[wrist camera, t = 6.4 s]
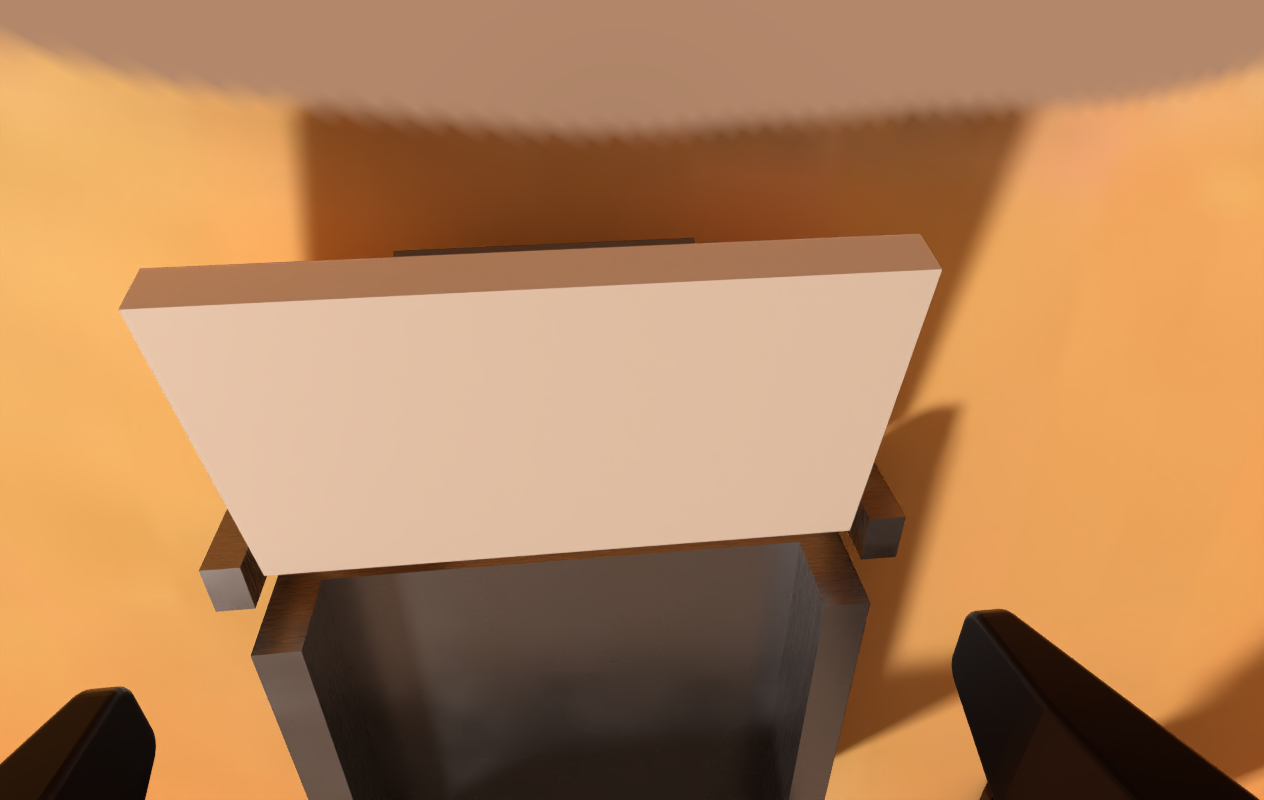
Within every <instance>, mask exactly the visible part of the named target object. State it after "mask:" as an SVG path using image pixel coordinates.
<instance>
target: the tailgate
mask: <svg viewBox="0 0 1264 800" xmlns="http://www.w3.org/2000/svg"><path fill="white" fill-rule="evenodd" d="M941 272H942V268H941V266H940V265H939V263H938V261H937V260H936V258H935V257H934V255H933V253H932V252H931V250H930V249H929V247H928V245H927V244H926V242H925V241H924V239H923V237H922V236H921V234H920V233H917V234H895V235H873V236H851V237H829V238H806V239H784V240H762V241H740V242H718V243H696V244H695V241H694V238H679V239H656V240H634V241H611V242H589V243H566V244H544V245H521V246H499V247H476V248H454V249H432V250H409V251H394V254H393V257H385V258H363V259H341V260H319V261H297V262H274V263H252V264H230V265H208V266H186V267H164V268H142V269H140V270H139V272H138V274H137V275H136V277H135V279H134V281H133V283H132V285H131V287H130V289H129V290H128V292H127V294H126V296H125V298H124V300H123V302H122V304H121V305H120V307H119V309H118V310H119V312H120V314H121V316H122V318H123V319H124V321H125V323H126V325H127V327H128V328H129V330H130V332H131V334H132V336H133V338H134V339H135V341H136V343H137V345H138V347H139V348H140V350H141V352H142V354H143V356H144V358H145V359H146V361H147V363H148V365H149V367H150V369H151V370H152V372H153V374H154V376H155V378H156V379H157V381H158V383H159V385H160V387H161V389H162V390H163V392H164V394H165V396H166V398H167V400H168V401H169V403H170V405H171V407H172V409H173V410H174V412H175V414H176V416H177V418H178V420H179V421H180V423H181V425H182V427H183V429H184V430H185V432H186V434H187V436H188V438H189V440H190V441H191V443H192V445H193V447H194V449H195V451H196V452H197V454H198V456H199V458H200V460H201V461H202V463H203V465H204V467H205V469H206V471H207V472H208V474H209V476H210V478H211V480H212V481H213V483H214V485H215V487H216V489H217V491H218V492H219V494H220V496H221V498H222V500H223V502H224V503H225V505H226V507H227V509H228V511H229V512H230V514H231V516H232V518H233V520H234V522H235V523H236V525H237V527H238V529H239V531H240V533H241V534H242V536H243V538H244V540H245V542H246V543H247V545H248V547H249V549H250V551H251V553H252V554H253V556H254V558H255V560H256V562H257V563H258V565H259V567H260V569H261V571H262V573H263V574H264V576H269V575H282V574H295V573H308V572H321V571H334V570H347V569H360V568H373V567H386V566H398V565H411V564H424V563H437V562H450V561H463V560H476V559H489V558H502V557H515V556H527V555H540V554H553V553H566V552H579V551H592V550H605V549H618V548H631V547H644V546H657V545H669V544H682V543H695V542H708V541H721V540H734V539H747V538H760V537H773V536H786V535H798V534H811V533H824V532H837V531H850V528H851V526H852V523H853V520H854V517H855V514H856V511H857V509H858V506H859V503H860V500H861V497H862V495H863V492H864V489H865V486H866V483H867V480H868V478H869V475H870V472H871V469H872V466H873V463H874V461H875V458H876V455H877V452H878V449H879V447H880V444H881V441H882V438H883V435H884V432H885V430H886V427H887V424H888V421H889V418H890V415H891V413H892V410H893V407H894V404H895V401H896V399H897V396H898V393H899V390H900V387H901V384H902V382H903V379H904V376H905V373H906V370H907V368H908V365H909V362H910V359H911V356H912V353H913V351H914V348H915V345H916V342H917V339H918V336H919V334H920V331H921V328H922V325H923V322H924V320H925V317H926V314H927V311H928V308H929V305H930V303H931V300H932V297H933V294H934V291H935V288H936V286H937V283H938V280H939V277H940V274H941Z"/></svg>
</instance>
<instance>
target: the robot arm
mask: <svg viewBox="0 0 1264 800" xmlns="http://www.w3.org/2000/svg"><path fill="white" fill-rule="evenodd" d="M952 673H953V678H954V681H955V685H956V688H957V691H958V694H959V697H960V700H961V703H962V706H963V709H964V712H965V715H966V718H967V721H968V724H969V727H970V730H971V733H972V736H973V739H974V742H975V745H976V748H977V751H978V754H979V757H980V760H981V763H982V766H983V769H984V772H985V775H986V778H987V781H988V784H989V785H988V786H987V787H986V788H985V789H984V791H983V794H982V796H981V798H980V800H1259V799H1258V798H1257V797H1256V796H1254V795H1253V794H1252V793H1250V792H1249V791H1248V790H1246V789H1245V788H1244V787H1242V786H1241V785H1240V784H1238V783H1237V782H1236V781H1234V780H1233V779H1232V778H1230V777H1229V776H1228V775H1226V774H1225V773H1224V772H1222V771H1221V770H1220V769H1218V768H1217V767H1216V766H1214V765H1213V764H1212V763H1210V762H1209V761H1208V760H1206V759H1205V758H1204V757H1202V756H1201V755H1200V754H1199V753H1197V752H1196V751H1195V750H1193V749H1192V748H1191V747H1189V746H1188V745H1187V744H1185V743H1184V742H1183V741H1181V740H1180V739H1179V738H1177V737H1176V736H1175V735H1173V734H1172V733H1171V732H1169V731H1168V730H1167V729H1165V728H1164V727H1163V726H1161V725H1160V724H1159V723H1157V722H1156V721H1155V720H1153V719H1152V718H1151V717H1149V716H1148V715H1147V714H1145V713H1144V712H1143V711H1142V710H1140V709H1139V708H1138V707H1136V706H1135V705H1134V704H1132V703H1131V702H1130V701H1128V700H1127V699H1126V698H1124V697H1123V696H1122V695H1120V694H1119V693H1118V692H1116V691H1115V690H1114V689H1112V688H1111V687H1110V686H1108V685H1107V684H1106V683H1104V682H1103V681H1102V680H1100V679H1099V678H1098V677H1096V676H1095V675H1094V674H1092V673H1091V672H1090V671H1088V670H1087V669H1086V668H1085V667H1083V666H1082V665H1081V664H1079V663H1078V662H1077V661H1075V660H1074V659H1073V658H1071V657H1070V656H1069V655H1067V654H1066V653H1065V652H1063V651H1062V650H1061V649H1059V648H1058V647H1057V646H1055V645H1054V644H1053V643H1051V642H1050V641H1049V640H1047V639H1046V638H1045V637H1043V636H1042V635H1041V634H1039V633H1038V632H1037V631H1035V630H1034V629H1033V628H1031V627H1030V626H1029V625H1028V624H1026V623H1025V622H1024V621H1022V620H1021V619H1020V618H1018V617H1017V616H1016V615H1014V614H1013V613H1011V612H1009V611H1007V610H1004V609H992V610H981V611H973V612H971V613H970V614H969V615H967V616H966V618H965V621H964V624H963V627H962V630H961V633H960V636H959V639H958V642H957V645H956V648H955V651H954V654H953V658H952ZM155 750H156V741H155V736H154V732H153V730H152V728H151V726H150V724H149V722H148V721H147V719H146V717H145V715H144V713H143V712H142V710H141V708H140V706H139V704H138V702H137V701H136V699H135V697H134V695H133V694H132V692H131V691H130V690H128V689H127V688H125V687H109V688H97V689H89V690H85V691H83V692H81V693H79V694H78V695H76V696H75V697H73V698H72V699H71V700H70V701H69V702H68V703H67V704H65V705H64V706H63V707H62V708H61V709H60V710H59V711H58V712H57V713H56V714H55V715H53V716H52V717H51V718H50V719H49V720H48V721H47V722H46V723H45V724H44V725H42V726H41V727H40V728H39V729H38V730H37V731H36V732H35V733H34V734H33V735H32V736H30V737H29V738H28V739H27V740H26V741H25V742H24V743H23V744H22V745H21V746H19V747H18V748H17V749H16V750H15V751H14V752H13V753H12V754H11V755H10V756H9V757H7V758H6V759H5V760H4V761H3V762H2V763H1V764H0V800H145V797H146V793H147V789H148V784H149V780H150V775H151V771H152V767H153V762H154V757H155Z"/></svg>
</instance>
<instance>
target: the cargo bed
mask: <svg viewBox="0 0 1264 800" xmlns="http://www.w3.org/2000/svg"><path fill="white" fill-rule="evenodd" d="M904 521H905V515H904V513H903V512H902V510H901V508H900V506H899V505H898V503H897V501H896V499H895V498H894V496H893V494H892V492H891V491H890V489H889V487H888V485H887V484H886V482H885V480H884V478H883V476H882V475H881V473H880V471H879V469H878V468H877V466H876V464H875V462H874V463H873V466H872V469H871V472H870V475H869V478H868V480H867V483H866V486H865V489H864V492H863V495H862V497H861V500H860V503H859V506H858V509H857V511H856V514H855V517H854V520H853V523H852V526H851V528H850V531H848V532H849V534H850V536H851V539H852V541H853V543H854V545H855V547H856V549H857V551H858V553H859V555H860V558H861V559H873V558H885V557H896V553H897V549H898V545H899V541H900V537H901V533H902V529H903V525H904ZM199 572H200V575H201V577H202V579H203V582H204V584H205V587H206V589H207V591H208V594H209V596H210V598H211V601H212V603H213V606H214V608H215V610H216V612H217V611H229V610H241V609H254V608H256V605H257V602H258V600H259V597H260V594H261V591H262V588H263V586H264V583H265V580H266V577H267V576H264V574H263V573H262V571H261V569H260V567H259V565H258V563H257V562H256V560H255V558H254V556H253V554H252V553H251V551H250V549H249V547H248V545H247V543H246V542H245V540H244V538H243V536H242V534H241V533H240V531H239V529H238V527H237V525H236V523H235V522H234V520H233V518H232V516H231V514H230V512H229V511H228V509H227V511H226V513H225V515H224V517H223V519H222V521H221V524H220V526H219V528H218V530H217V532H216V535H215V537H214V539H213V541H212V543H211V546H210V548H209V550H208V552H207V554H206V557H205V559H204V561H203V563H202V565H201V567H200V570H199ZM869 607H870V601H869V599H868V596H867V594H866V592H865V590H864V588H863V585H862V583H861V581H860V579H859V577H858V575H857V572H856V570H855V568H854V566H853V564H852V561H851V559H850V557H849V555H848V553H847V551H846V548H845V546H844V544H843V542H842V540H841V537H840V535H839V533H838V531H837V532H824V533H811V534H798V535H786V536H773V537H760V538H747V539H734V540H721V541H708V542H695V543H682V544H669V545H657V546H644V547H631V548H618V549H605V550H592V551H579V552H566V553H553V554H540V555H527V556H515V557H502V558H489V559H476V560H463V561H450V562H437V563H424V564H411V565H398V566H386V567H373V568H360V569H347V570H334V571H321V572H308V573H295V574H282V575H278V578H277V581H276V584H275V587H274V590H273V592H272V595H271V598H270V601H269V604H268V607H267V610H266V613H265V616H264V619H263V622H262V624H261V627H260V630H259V633H258V636H257V639H256V642H255V645H254V648H253V651H252V654H251V658H252V660H253V663H254V665H255V668H256V670H257V673H258V675H259V678H260V680H261V683H262V685H263V688H264V690H265V693H266V695H267V697H268V700H269V702H270V705H271V707H272V710H273V712H274V715H275V717H276V720H277V722H278V725H279V727H280V730H281V732H282V735H283V737H284V740H285V742H286V745H287V747H288V750H289V752H290V755H291V757H292V760H293V762H294V765H295V767H296V770H297V772H298V775H299V777H300V780H301V782H302V784H303V787H304V789H305V792H306V794H307V797H308V799H309V800H825V795H826V791H827V787H828V783H829V778H830V774H831V770H832V765H833V761H834V757H835V753H836V748H837V744H838V740H839V735H840V731H841V727H842V722H843V718H844V714H845V710H846V705H847V701H848V697H849V692H850V688H851V684H852V680H853V675H854V671H855V667H856V662H857V658H858V654H859V649H860V645H861V641H862V637H863V632H864V628H865V624H866V619H867V615H868V611H869Z"/></svg>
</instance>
